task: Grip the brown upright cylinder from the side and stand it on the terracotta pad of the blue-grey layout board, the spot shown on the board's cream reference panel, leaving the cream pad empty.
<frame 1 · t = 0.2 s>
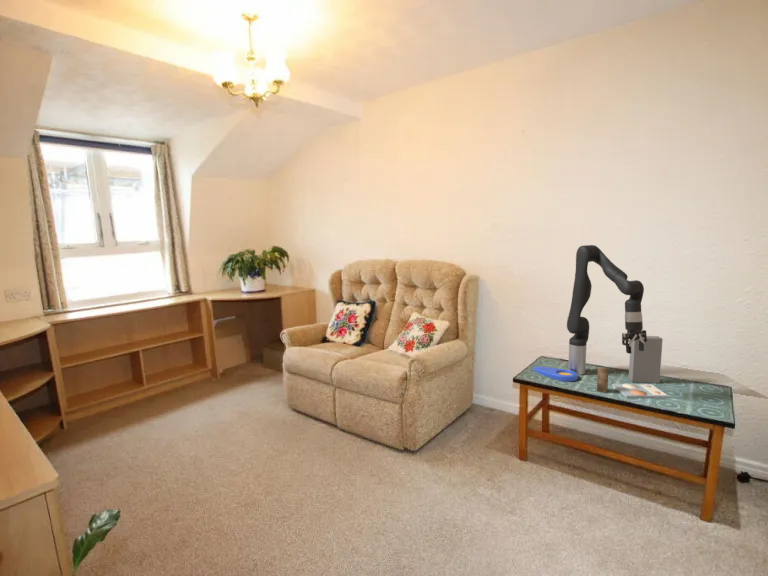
hand: (635, 352, 209), 22 cm above the table, tool pointing down, fingers open, 8 cm apart
layout board: (639, 391, 214), on the table
location marker: (554, 376, 241), on the table
brown upright cylinder: (602, 390, 216), on the table
tall grey upright box: (643, 381, 229), on the table
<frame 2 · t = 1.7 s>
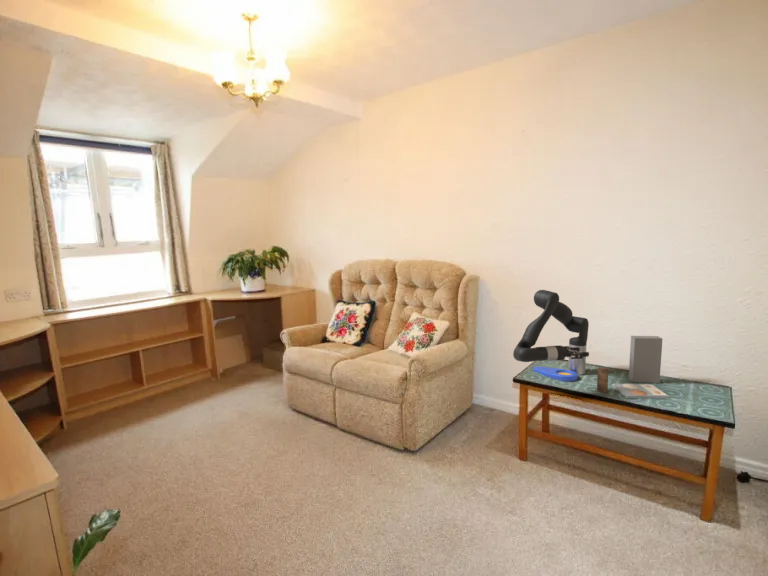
hand: (583, 351, 212), 22 cm above the table, tool horizontal, fingers open, 8 cm apart
nothing on the table moved.
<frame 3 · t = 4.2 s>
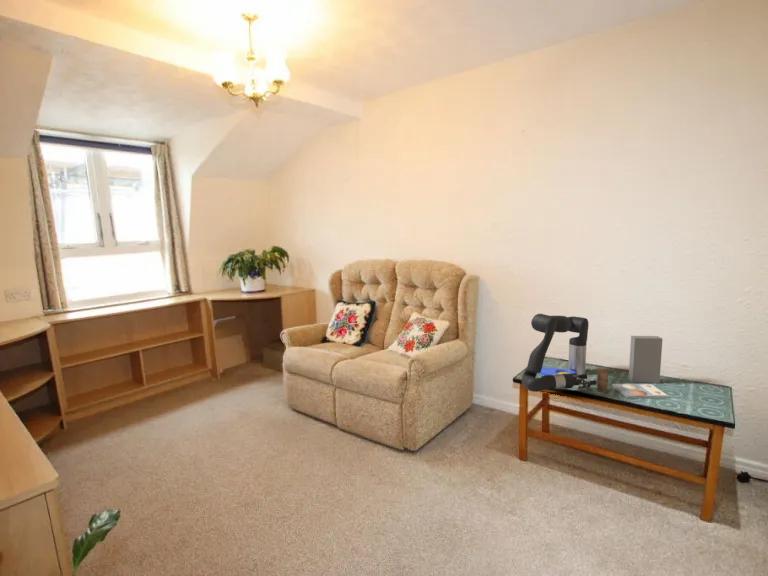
hand: (591, 379, 215), 6 cm above the table, tool horizontal, fingers open, 8 cm apart
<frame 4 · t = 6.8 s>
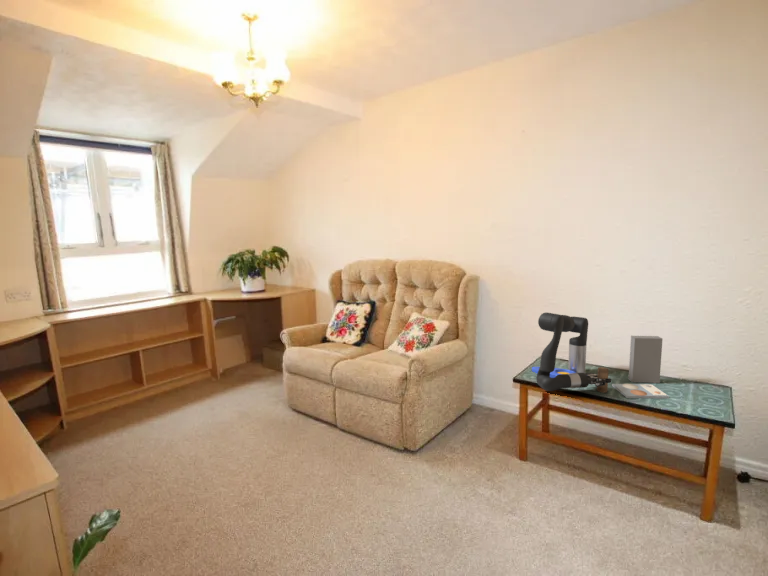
hand: (607, 378, 216), 7 cm above the table, tool horizontal, fingers closed on brown upright cylinder, 5 cm apart
brown upright cylinder: (602, 390, 216), on the table, touching gripper
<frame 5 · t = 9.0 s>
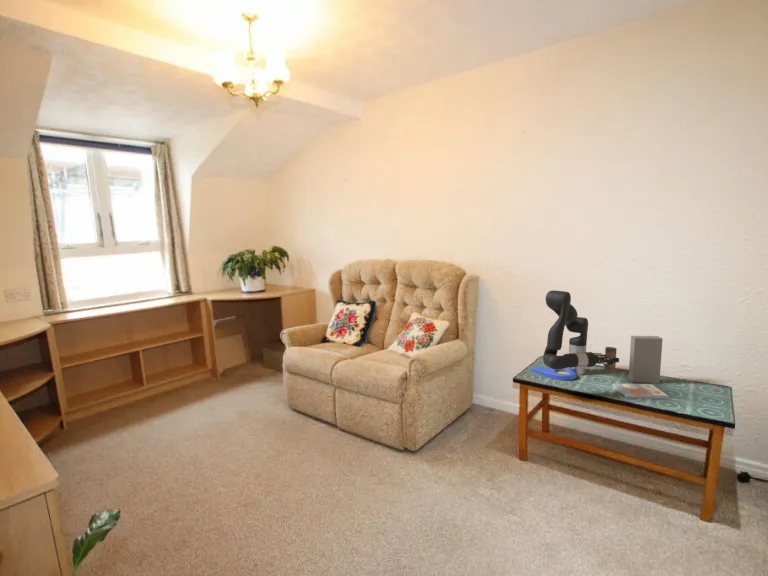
hand: (615, 358, 213), 18 cm above the table, tool horizontal, fingers closed on brown upright cylinder, 5 cm apart
brown upright cylinder: (609, 370, 214), point 11 cm above the table, touching gripper
when the fingers open (9 cm above the table, at t = 12.7 s): brown upright cylinder drops 1 cm, resting on layout board.
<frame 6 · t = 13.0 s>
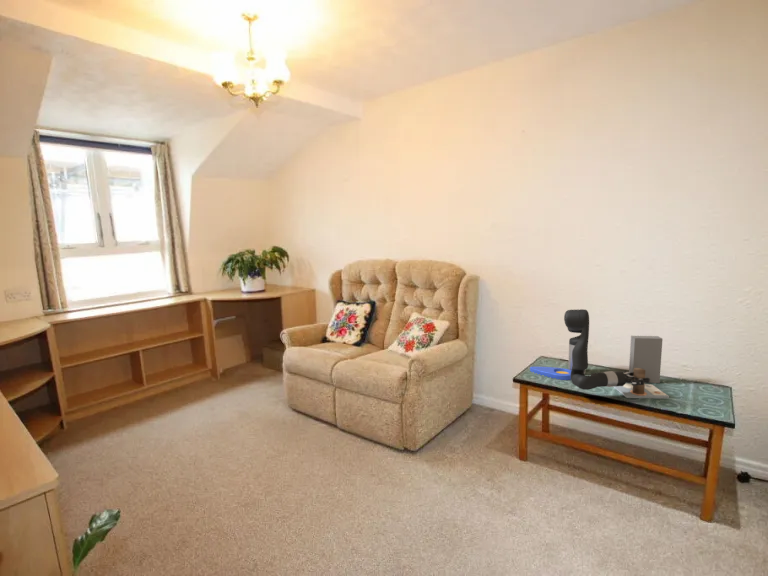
hand: (643, 377, 209), 9 cm above the table, tool horizontal, fingers open, 8 cm apart
brown upright cylinder: (638, 392, 210), point 1 cm above the table, touching layout board
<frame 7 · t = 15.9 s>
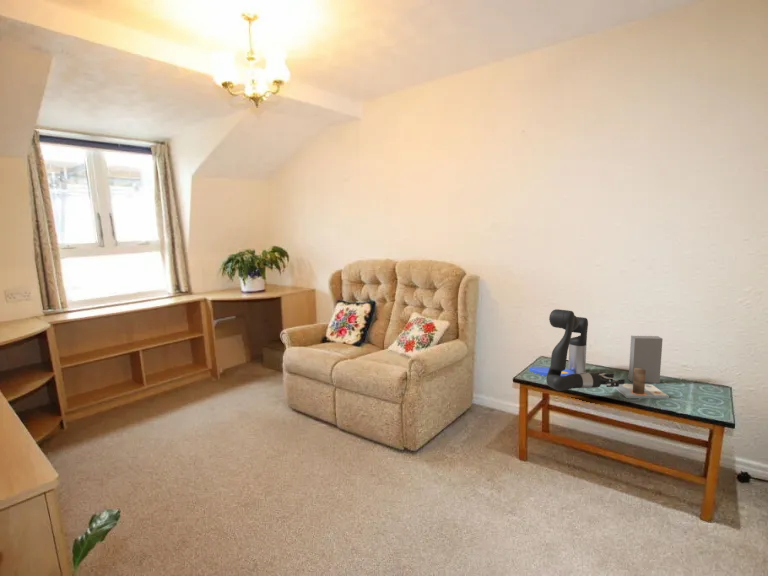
hand: (618, 378, 208), 9 cm above the table, tool horizontal, fingers open, 8 cm apart
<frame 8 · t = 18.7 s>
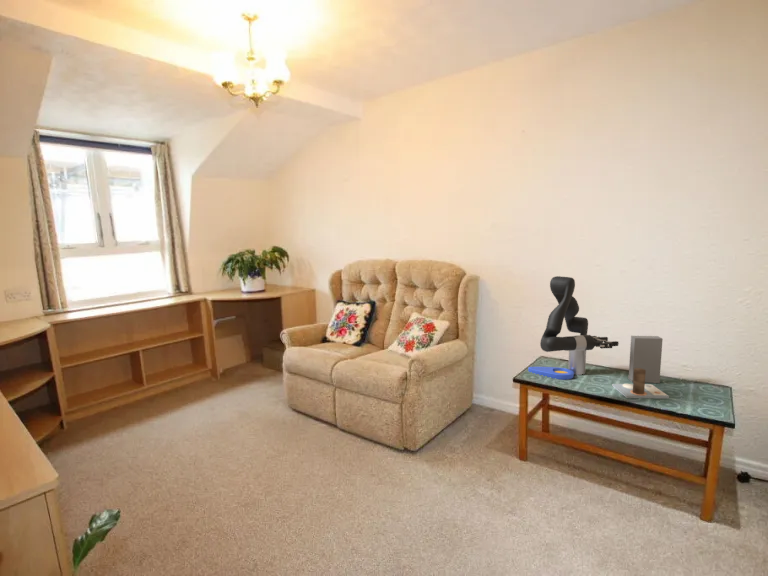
hand: (612, 341, 208), 28 cm above the table, tool horizontal, fingers open, 8 cm apart
at the end: brown upright cylinder 0.1 cm from the target spot, point 1.4 cm above the table; brown upright cylinder tilted 0°; the gripper is holding nothing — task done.
